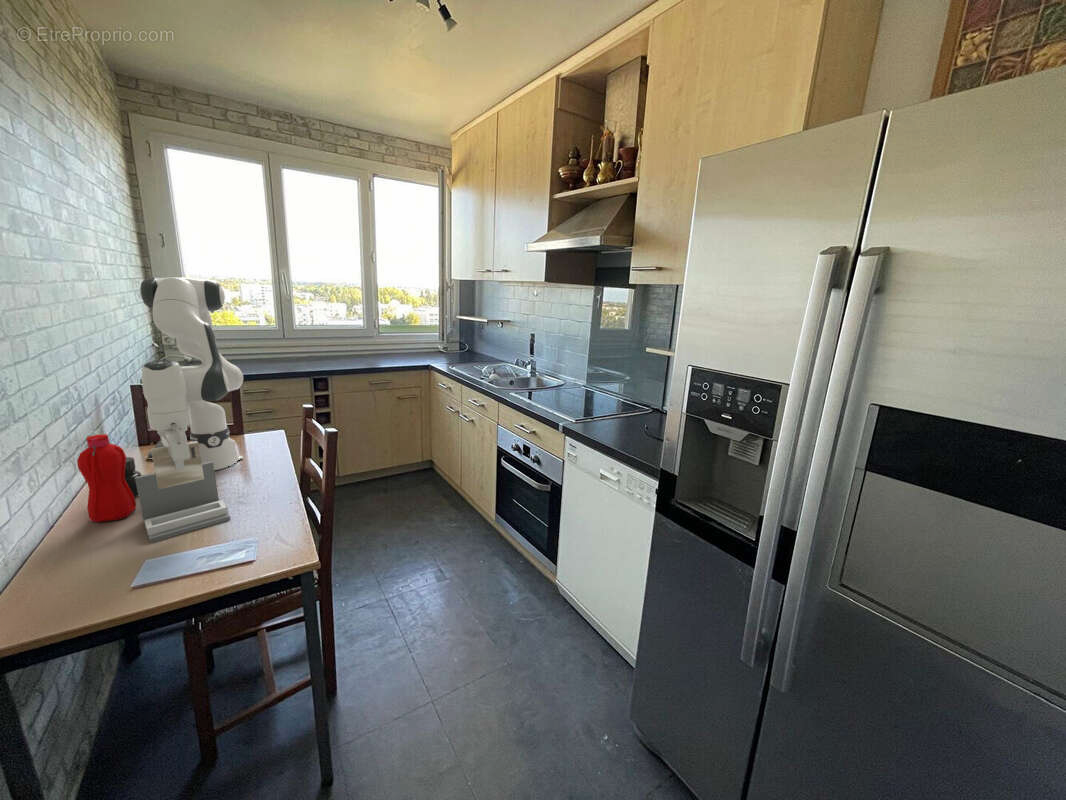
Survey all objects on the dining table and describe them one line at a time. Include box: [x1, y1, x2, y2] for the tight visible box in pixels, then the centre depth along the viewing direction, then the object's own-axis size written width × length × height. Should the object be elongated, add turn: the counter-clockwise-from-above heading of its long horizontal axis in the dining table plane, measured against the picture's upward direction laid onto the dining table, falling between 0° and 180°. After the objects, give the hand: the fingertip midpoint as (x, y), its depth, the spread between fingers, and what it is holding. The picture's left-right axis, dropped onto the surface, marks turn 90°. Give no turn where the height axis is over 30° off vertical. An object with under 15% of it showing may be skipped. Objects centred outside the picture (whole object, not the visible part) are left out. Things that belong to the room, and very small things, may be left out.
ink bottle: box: [125, 456, 142, 498], centre depth 140 cm, size 10×9×12 cm
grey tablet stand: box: [135, 461, 231, 544], centre depth 125 cm, size 16×18×14 cm
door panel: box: [150, 441, 204, 489], centre depth 121 cm, size 3×10×11 cm, turn 136°
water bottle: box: [76, 433, 137, 523], centre depth 125 cm, size 9×11×25 cm
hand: (178, 467), depth 121 cm, fingers closed on door panel, 2 cm apart
